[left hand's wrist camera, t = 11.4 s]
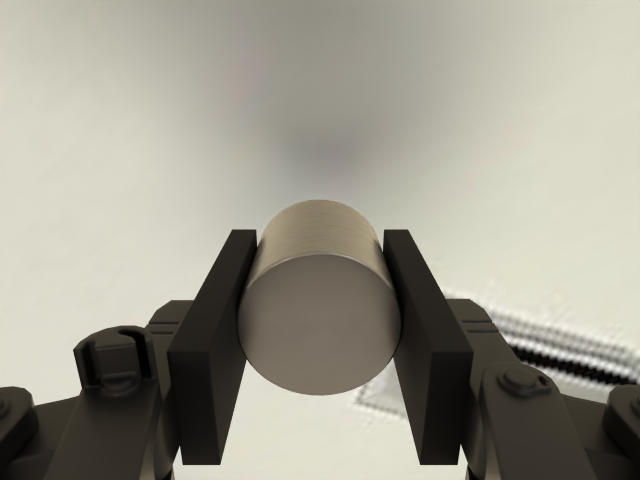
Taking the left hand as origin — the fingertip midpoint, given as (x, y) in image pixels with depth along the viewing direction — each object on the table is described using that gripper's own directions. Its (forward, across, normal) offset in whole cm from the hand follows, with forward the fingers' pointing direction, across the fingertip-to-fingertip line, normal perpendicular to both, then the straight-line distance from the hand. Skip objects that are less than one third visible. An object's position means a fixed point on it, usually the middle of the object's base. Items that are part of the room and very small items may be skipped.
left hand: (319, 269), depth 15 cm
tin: (0, 0, 0) cm, 0 cm away
